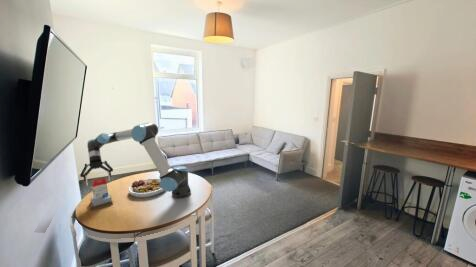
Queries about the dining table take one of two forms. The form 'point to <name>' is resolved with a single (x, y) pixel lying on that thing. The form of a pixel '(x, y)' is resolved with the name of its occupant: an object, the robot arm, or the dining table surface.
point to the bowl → (146, 188)
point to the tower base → (101, 205)
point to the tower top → (100, 200)
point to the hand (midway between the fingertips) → (98, 182)
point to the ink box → (99, 189)
